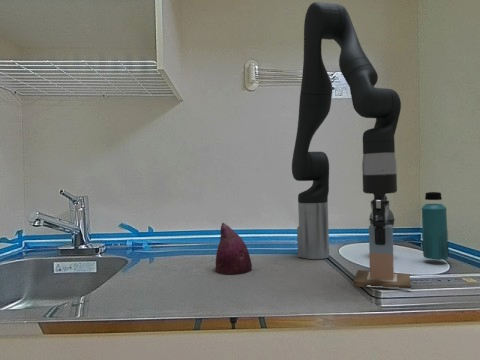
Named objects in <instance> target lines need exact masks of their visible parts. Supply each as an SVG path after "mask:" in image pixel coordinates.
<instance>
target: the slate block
mask: <svg viewBox="0 0 480 360" xmlns="http://www.w3.org/2000/svg"><path fill="white" fill-rule="evenodd" d="M369 224H370V223H369ZM393 230H394V226H393V225H386V228H385V242H386V243H385V245H376V244H375V228H374V227H373V224H370V225H368V245H369V246H368V247H369V253H378V254H393V255H394V235H393V233H394V231H393ZM369 253H368V254H369Z"/></svg>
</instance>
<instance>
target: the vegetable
mask: <svg viewBox="0 0 480 360" xmlns="http://www.w3.org/2000/svg"><path fill="white" fill-rule="evenodd" d="M252 265H253V264H252V259H251V256H250V253H249V250H248V247H247V245H246V243H245V241H244V240H243V239H242V237H241V235H239V234H238V233H237V232H236V231H235V230H233V229H232V228H231V227H230V226H229V225H228V224H226V223H224V222H223V221H222V223H221V226H220V237H219V244H218V246H217V250H216V256H215V272H216V273H218V274H220V275H221V274H222V275H241V274H247V273H249V272H251V271H252V270H253V266H252Z"/></svg>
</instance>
